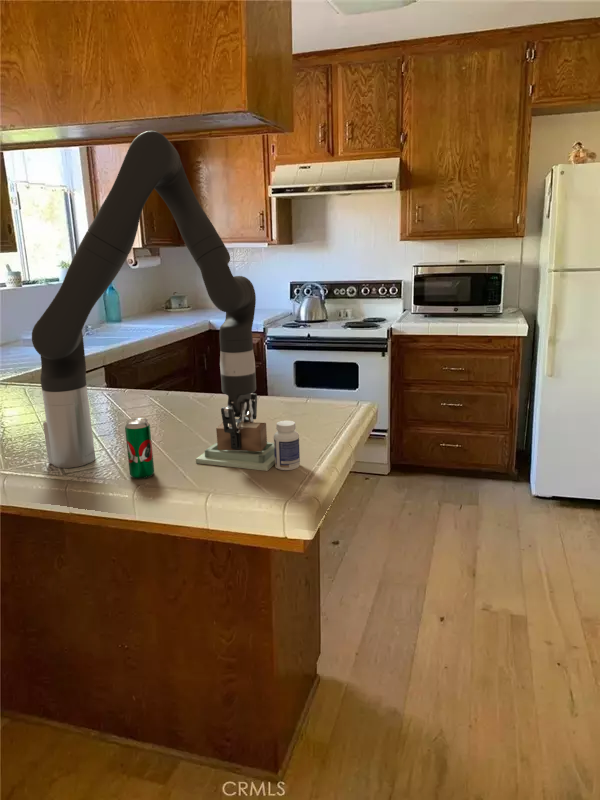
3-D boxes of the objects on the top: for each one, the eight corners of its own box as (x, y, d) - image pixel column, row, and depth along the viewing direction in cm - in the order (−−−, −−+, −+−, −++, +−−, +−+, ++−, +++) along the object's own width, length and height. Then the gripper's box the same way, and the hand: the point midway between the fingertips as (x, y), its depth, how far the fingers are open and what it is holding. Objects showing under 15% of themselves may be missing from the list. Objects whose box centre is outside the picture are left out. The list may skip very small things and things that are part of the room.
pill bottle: (305, 465, 133) (303, 422, 130) (288, 472, 129) (286, 428, 126) (286, 460, 136) (285, 417, 134) (269, 467, 132) (267, 423, 130)
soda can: (156, 470, 132) (151, 416, 129) (152, 479, 127) (146, 423, 124) (133, 471, 132) (127, 417, 129) (127, 480, 127) (121, 424, 124)
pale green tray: (196, 463, 136) (195, 450, 135) (218, 446, 146) (218, 434, 145) (267, 470, 130) (266, 457, 129) (285, 453, 140) (285, 441, 139)
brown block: (217, 449, 137) (216, 427, 135) (224, 442, 141) (223, 420, 140) (261, 451, 135) (260, 429, 133) (267, 443, 139) (266, 422, 138)
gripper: (239, 379, 126) (244, 457, 130) (266, 364, 139) (269, 436, 143) (206, 377, 128) (212, 454, 133) (236, 363, 141) (240, 433, 146)
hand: (242, 444), depth 138 cm, fingers closed on brown block, 5 cm apart
